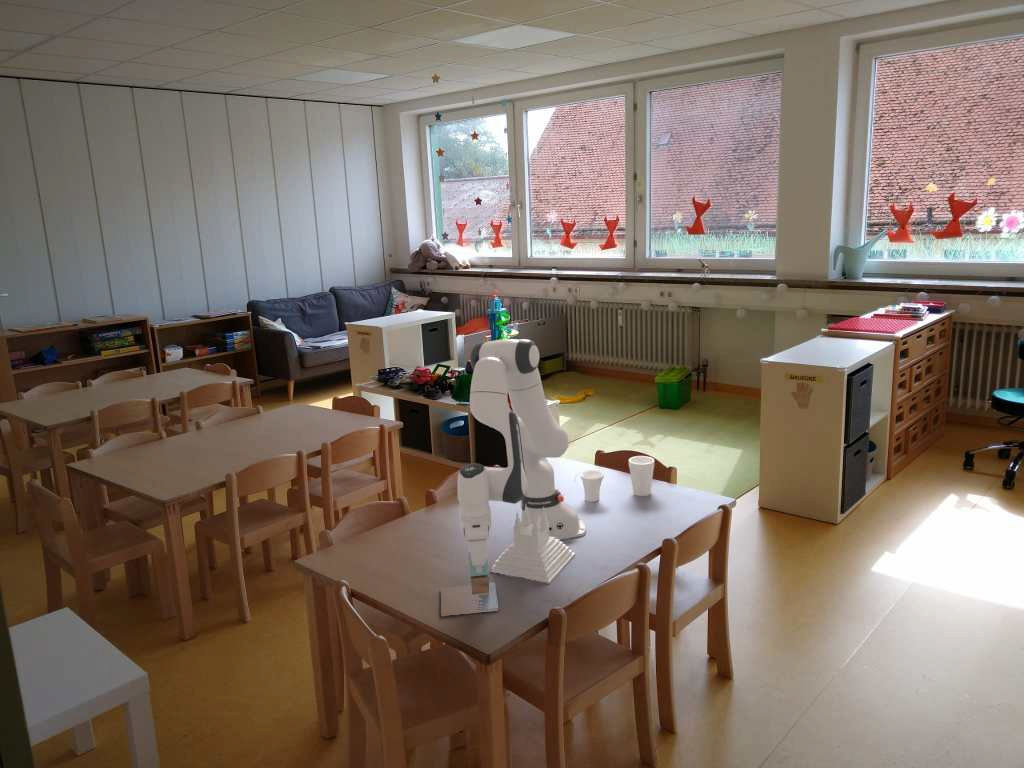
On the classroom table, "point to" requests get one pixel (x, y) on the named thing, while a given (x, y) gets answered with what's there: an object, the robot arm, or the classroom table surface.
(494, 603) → the building board
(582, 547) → the classroom table surface
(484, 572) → the teal cube
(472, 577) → the walnut cube
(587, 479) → the cup
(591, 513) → the classroom table surface
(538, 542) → the castle model
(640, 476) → the foam cup
